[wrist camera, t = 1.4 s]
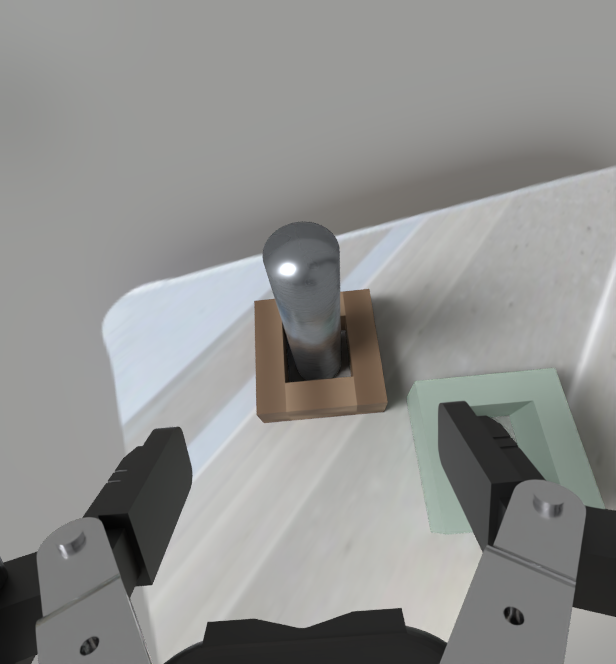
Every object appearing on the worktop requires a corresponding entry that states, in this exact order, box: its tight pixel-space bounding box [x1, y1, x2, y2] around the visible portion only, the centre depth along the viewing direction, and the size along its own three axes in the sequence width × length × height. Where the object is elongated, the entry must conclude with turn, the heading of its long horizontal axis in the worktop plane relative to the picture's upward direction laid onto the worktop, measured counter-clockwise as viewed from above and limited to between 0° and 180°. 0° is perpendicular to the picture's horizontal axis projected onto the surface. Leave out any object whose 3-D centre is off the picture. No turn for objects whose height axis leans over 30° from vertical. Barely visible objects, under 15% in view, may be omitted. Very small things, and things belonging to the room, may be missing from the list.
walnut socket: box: [254, 289, 388, 423], centre depth 34 cm, size 10×10×3 cm
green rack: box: [406, 368, 605, 534], centre depth 29 cm, size 10×10×4 cm
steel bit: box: [263, 222, 341, 381], centre depth 28 cm, size 4×4×16 cm
